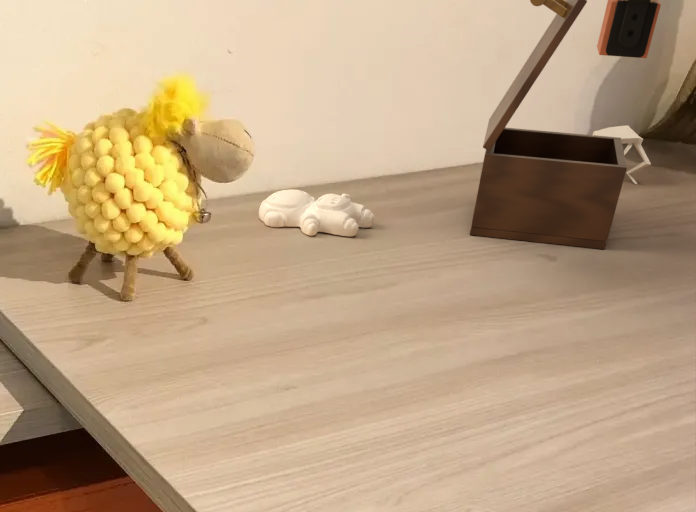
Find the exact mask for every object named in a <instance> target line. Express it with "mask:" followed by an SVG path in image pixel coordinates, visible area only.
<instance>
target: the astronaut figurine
mask: <svg viewBox="0 0 696 512" xmlns="http://www.w3.org/2000/svg"><path fill="white" fill-rule="evenodd" d="M258 218H259V220H260V221H261V222H263V223H264V225H265V226H267V227H270V228H284V227H288V228H290V227H291V228H294V227H295V228H296V227H297V228H300V230H301V232H302V233H303V234H305V235H307V236H310V237H311V236H312V237H313V236H316V235H317V233H325V234H331V235H335V236H342V237H351V238H352V237H355V236H356V235H357V233H358V232H359V228H372V227H373V225H374V222H375V215H374V213H373V212H372V211H371V209H368V208H366V206H365V205H364V204H360V203H356V202H354V201H352V196H351V195H350V194H347V193H342V194H341V195H340V194H337V193H326V194H323V195H321V196H320V197H318V198H317V199H315V197H314V196H311V195H310V194H309V193H308V192H307V191H304V190H301V189H294V188H293V189H283V190H278V191H275V192H274V193H272V194H270V195H269V196H268V197H267V198H266V199H263V201H262V202H261V203H260V206H259V209H258Z"/></svg>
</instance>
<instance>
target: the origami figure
mask: <svg viewBox="0 0 696 512" xmlns="http://www.w3.org/2000/svg"><path fill="white" fill-rule="evenodd" d="M592 135H595V136H607V137H618V138H621V140H622V145H623V144H624V145H625V144H627V145H626V147H625V148H624V149H623V150H624V156H625V155H626V154H627V153H628V152H629V151H630V149H631V148H632V147H633V146H634V147H635V149H636V151H637V153H638V154H639V156H640V157H641V159H642V160H643V161H642V162H640V163H639V164H637V165H636V166H633V167H632V168H630V169H629V170H628V171H626V173H625V174H626V175H627V176H628V178H629V179H630V180H631V182H632V183H633V184H634V185H638V182H637V181H636V180H635V178H634V177H633V176H632V175H631V174H633V173H635V172H637V171H640V170H642V169H644V168H646V167H649V166H651V165H652V163H651V161H650V159H649V157H648V156H647V153H646V151H645V149H644V147H643V146H642V143H643V141H644V138H642V137H641V136H639V134H637V132H635V131H634V129H632V128H631V127H630V125H627V124H626V125H617V126H609V127H605V128H602V129H599V130H594V131H593V132H592Z"/></svg>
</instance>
